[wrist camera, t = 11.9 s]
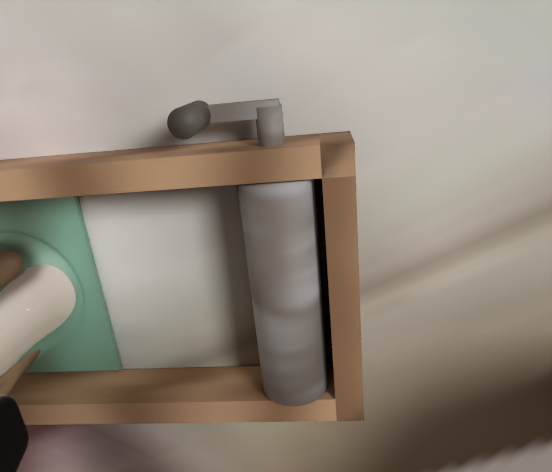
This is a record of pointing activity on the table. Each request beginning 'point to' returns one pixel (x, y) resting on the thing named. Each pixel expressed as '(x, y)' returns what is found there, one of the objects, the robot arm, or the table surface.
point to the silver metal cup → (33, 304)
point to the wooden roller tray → (261, 268)
